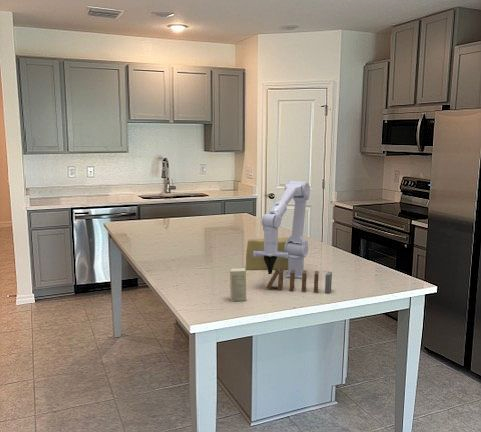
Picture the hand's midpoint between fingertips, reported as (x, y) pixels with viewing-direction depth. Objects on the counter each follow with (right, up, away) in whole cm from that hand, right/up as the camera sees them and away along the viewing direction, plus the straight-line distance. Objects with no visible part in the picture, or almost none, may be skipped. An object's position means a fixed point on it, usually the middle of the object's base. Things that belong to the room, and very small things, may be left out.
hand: (270, 273), depth 205 cm
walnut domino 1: (-1, -6, +1) cm, 6 cm away
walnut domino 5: (+19, -7, -2) cm, 20 cm away
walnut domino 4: (+14, -7, -2) cm, 16 cm away
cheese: (+1, -2, +31) cm, 31 cm away
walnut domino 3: (+9, -7, -1) cm, 11 cm away
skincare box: (-14, -9, -14) cm, 21 cm away
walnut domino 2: (+4, -7, 0) cm, 8 cm away
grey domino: (+24, -7, -3) cm, 25 cm away
